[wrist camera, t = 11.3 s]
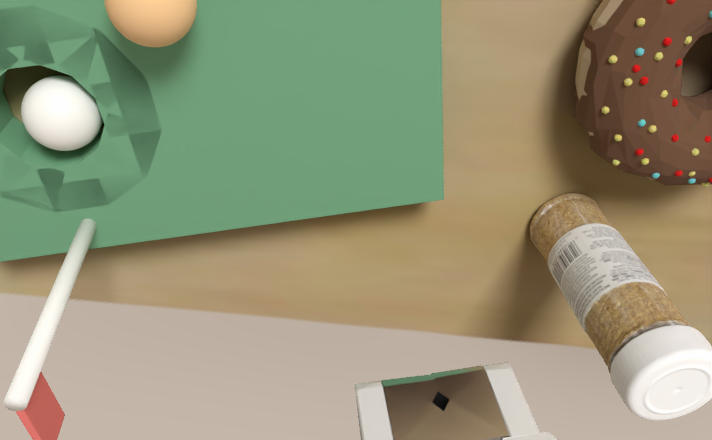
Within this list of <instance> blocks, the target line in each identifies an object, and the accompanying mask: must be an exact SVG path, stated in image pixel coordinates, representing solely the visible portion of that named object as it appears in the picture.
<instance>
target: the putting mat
mask: <svg viewBox="0 0 712 440" xmlns="http://www.w3.org/2000/svg"><path fill="white" fill-rule="evenodd" d="M35 65H41V66H44V67H47V68H50V69H53V70H56V71H59V72H61V73H64V74H67V75H70V76H72V77H73V78H74V79H75V80H76V81H77V82H79V83H80V84H81V85H82V86H83V87H84V88H85V89H86V90H87V91H88V92H89V93H90V94H91V95H92V96H93V97H95V99H96V102H97V105H98V107H99V110H100V113H101V116H102V119H103V122H104V124H105V125H104V129H103V131H101V132H100V133H99V134H98V135H97V136H96V137H95V138H94V139H93V140H92V141H91V142H90V143H89V144H87V145H85V146H84V147H81V148H79V149H76V150H70V151H59V150H54V149H50V148H48V147H45V146H43V145H42V144H40V143H39V142H37V141H36V140H35V139H34V138H33V137H32V136H31V135H30V134H29V133H28V131H27V130H26V128H25V126H24V124H23V123H21V122H20V121H19V120H18V119H17V118H16V117H14V115H13V113H12V111H11V108H10V106H9V104H8V102H7V99H6V97H5V95H4V92H3V87H4V81H5V75H6V71H7V70H8V69H12V68H20V67H28V66H35ZM437 200H444V180H443V113H442V47H441V0H197V11H196V17H195V20H194V23H193V25H192V26H191V28H190V30H189V31H188V32H187V34H186V35H185V36H184V37H183V38H181V39H180V40H178V41H177V42H175V43H173V44H171V45H168V46H164V47H146V46H142V45H139V44H136V43H134V42H132V41H130V40H129V39H127V38H126V37H124V36H123V35H122V34H121V33H120V32H119V31H118V30H117V29H116V28H115V26H114V25H113V23H112V22H111V20H110V18H109V16H108V14H107V11H106V8H105V2H104V0H0V262H2V261H9V260H16V259H23V258H30V257H37V256H44V255H52V254H59V253H66V252H68V253H67V255H66V257H65V260H64V262H63V264H62V267H61V269H60V271H59V274H58V276H57V278H56V281H55V283H54V285H53V288H52V290H51V292H50V295H49V297H48V299H47V302H46V304H45V306H44V309H43V311H42V313H41V316H40V318H39V320H38V323H37V325H36V328H35V330H34V332H33V334H32V337H31V339H30V341H29V344H28V346H27V349H26V351H25V353H24V355H23V358H22V360H21V362H20V365H19V367H18V369H17V372H16V374H15V376H14V379H13V381H12V384H11V386H10V388H9V390H8V393H7V395H6V397H5V400H4V405H5V407H6V408H8V409H9V410H12V411H16V413H17V414H18V416H19V418H20V419H21V421H22V423H23V424H24V426H25V428H26V429H27V431H28V432H29V434H30V436H31V437H32V439H33V440H57V438H58V435H59V432H60V428H61V425H62V422H63V419H64V416H65V414H64V412H63V411H62V409H61V407H60V405H59V404H58V401H57V400H56V398H55V396H54V394H53V392H52V391H51V389H50V387H49V385H48V383H47V382H46V380H45V378H44V376H43V375H42V372H41V369H42V367H43V364H44V361H45V359H46V356H47V354H48V351H49V348H50V346H51V343H52V341H53V338H54V336H55V333H56V330H57V328H58V325H59V322H60V320H61V318H62V315H63V312H64V309H65V307H66V305H67V302H68V299H69V297H70V294H71V292H72V289H73V287H74V284H75V281H76V279H77V276H78V274H79V271H80V269H81V266H82V263H83V261H84V258H85V256H86V253H87V250H88V249H94V248H101V247H109V246H116V245H123V244H130V243H137V242H144V241H151V240H159V239H166V238H173V237H180V236H187V235H194V234H201V233H209V232H216V231H223V230H230V229H237V228H244V227H251V226H259V225H266V224H273V223H280V222H287V221H294V220H301V219H309V218H316V217H323V216H330V215H337V214H344V213H351V212H359V211H366V210H373V209H380V208H387V207H394V206H401V205H409V204H416V203H423V202H430V201H437Z"/></svg>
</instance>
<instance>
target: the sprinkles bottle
mask: <svg viewBox="0 0 712 440" xmlns="http://www.w3.org/2000/svg"><path fill="white" fill-rule="evenodd" d="M529 230H530V237H531V241H532V243H533V244H534V246H535V247H536V248H537V249H538V250H539V251H540V252H541V254H542V256H543V257H544V259H545V261H546V263H547V264H548V267H549V270H550V272H551V274H552V276H553V278H554V279H555V281H556V283H557V285H558V286H559V288H560V290H561V292H562V293H563V295H564V297H565V298H566V300H567V302H568V304H569V306H570V307H571V309H572V311H573V312H574V314H575V316H576V317H577V319H578V321H579V323H580V324H581V326H582V328H583V329H584V331H585V332H586V333H587V334H588V335H589V337H590V338H591V340H592V341H593V343H594V345H595V346H596V348H597V350H598V352H599V353H600V354H601V356H602V358H603V359H604V362H605V363H606V365H607V366H608V369H609V372H610V376H611V380H612V383H613V385H614V386H615V388H616V390H617V391H618V393H619V394H620V396H621V398H622V399H623V401H624V403H625V404H626V406H627V407H628V408H629V410H630V411H631V412H633V413H634V414H635V415H637V416H639V417H641V418H644V419H649V420H667V419H673V418H677V417H680V416H683V415H686V414H688V413H690V412H692V411H694V410H696V409H698V408H699V407H701V406H702V405H704V404H705V403H706V402H708V401H709V400H710V399H711V398H712V346H711V345H710V344H709V342H708V341H707V340H706V338H705V337H704V336H703V335H702V333H700V332H699V331H698V330H696V329H695V328H694V327H693V326H691V325H690V324H688V322H687V321H686V320H685V318H684V317H683V316H682V314H681V313H680V312H679V311H678V309H677V308H676V307H675V306H674V304H673V303H672V301H671V300H670V299H669V298H668V296H667V294H666V293H665V291H664V290H663V288H662V287H661V286H660V285H659V283H658V282H657V281H656V279H655V278H654V277H653V276H652V274H651V273H650V272H649V270H648V269H647V268H646V267H645V265H644V264H643V263H642V261H641V260H640V259H639V257H638V256H637V255H636V254H635V252H634V251H633V250H632V249H631V247H630V246H629V245H628V243H627V242H626V241H625V240H624V238H623V237H622V236H621V235H620V233H619V232H618V231H617V230H615V229H614V227H613V226H612V225H611V224H610V222H609V221H608V220H607V219H606V217H605V216H604V215H603V214H602V212H601V210H600V207H599V206H598V204H597V203H596V201H595V200H594V199H592V198H590V197H588V196H586V195H583V194H578V193H568V194H563V195H561V196H558V197H555V198H553V199H551V200H550V201H548V202H546V203H545V204H543V205H542V206H541V207H540V208H539V210H538V211H537V212H536V214H535V215H534V217H533V219H532V221H531V225H530V229H529Z"/></svg>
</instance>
